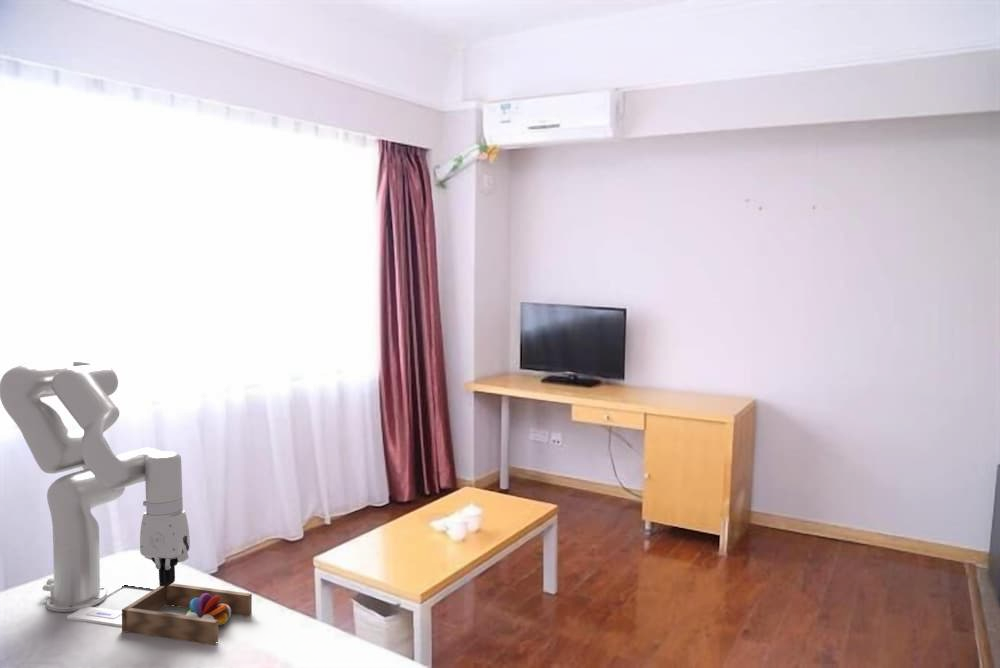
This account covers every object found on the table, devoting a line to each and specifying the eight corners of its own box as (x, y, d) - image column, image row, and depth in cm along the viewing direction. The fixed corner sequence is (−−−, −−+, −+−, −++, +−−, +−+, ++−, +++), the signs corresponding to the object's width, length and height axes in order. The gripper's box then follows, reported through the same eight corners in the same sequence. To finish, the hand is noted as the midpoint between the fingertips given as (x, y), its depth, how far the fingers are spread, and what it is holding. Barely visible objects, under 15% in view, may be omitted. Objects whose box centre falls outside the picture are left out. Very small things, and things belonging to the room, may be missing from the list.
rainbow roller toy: (214, 637, 151) (214, 605, 150) (176, 631, 153) (176, 600, 152) (236, 619, 159) (236, 589, 158) (200, 613, 161) (200, 584, 160)
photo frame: (66, 615, 156) (124, 582, 174) (67, 620, 157) (124, 587, 174) (121, 623, 154) (174, 589, 171) (121, 628, 154) (174, 594, 171)
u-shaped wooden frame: (121, 631, 152) (121, 609, 151) (165, 602, 166) (165, 582, 165) (214, 645, 147) (214, 622, 147) (251, 614, 161) (251, 593, 161)
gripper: (124, 509, 154) (127, 588, 155) (182, 513, 151) (185, 593, 152) (147, 499, 161) (150, 574, 162) (203, 503, 158) (206, 580, 159)
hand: (167, 583), depth 157 cm, fingers closed
